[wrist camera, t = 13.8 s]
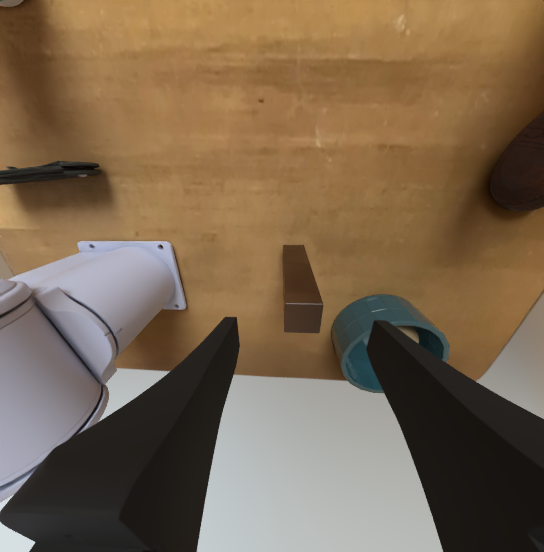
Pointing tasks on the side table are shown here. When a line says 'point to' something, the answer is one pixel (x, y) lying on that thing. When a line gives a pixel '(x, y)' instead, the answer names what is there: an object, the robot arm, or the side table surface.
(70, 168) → the folding knife
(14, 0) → the supplement bottle
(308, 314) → the stirring stick
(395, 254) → the side table surface
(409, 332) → the bead
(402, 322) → the bowl
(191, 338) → the side table surface
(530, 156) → the compass
